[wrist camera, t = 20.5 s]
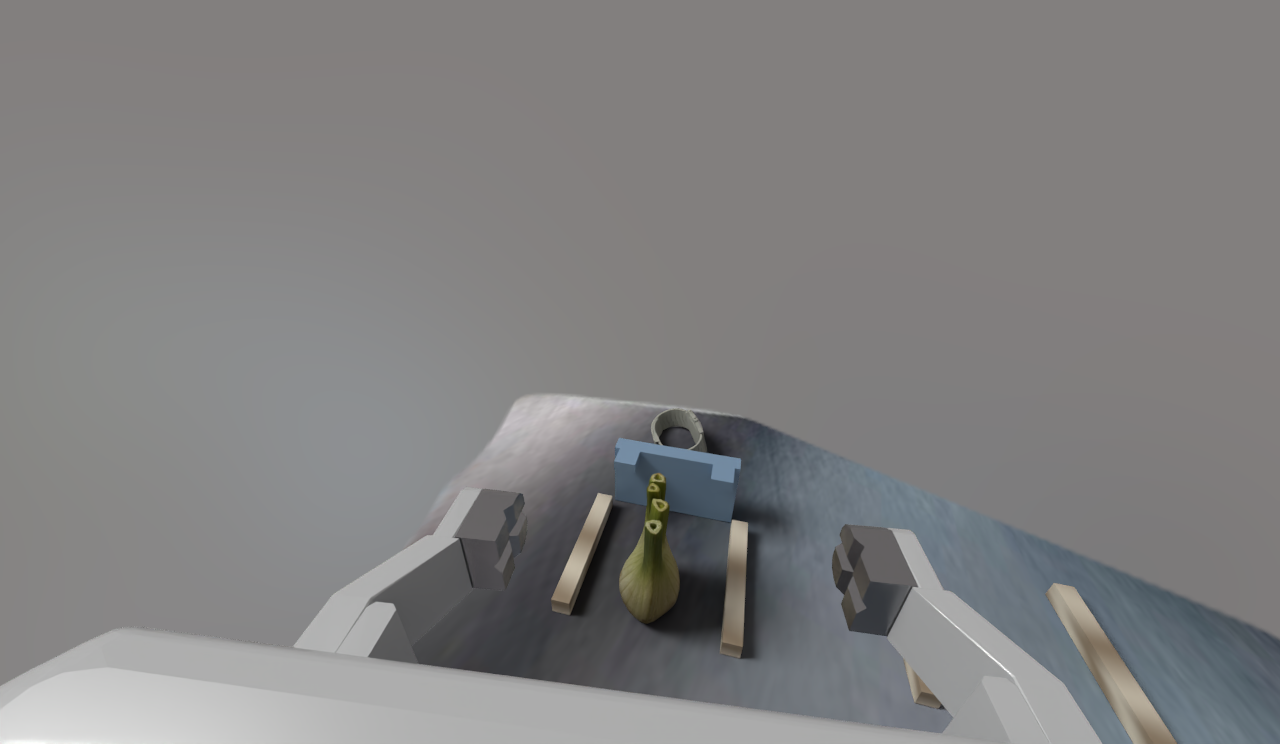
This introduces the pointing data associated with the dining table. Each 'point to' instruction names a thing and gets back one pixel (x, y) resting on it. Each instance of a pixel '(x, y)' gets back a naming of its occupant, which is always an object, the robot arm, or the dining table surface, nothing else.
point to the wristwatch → (679, 419)
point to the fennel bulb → (651, 562)
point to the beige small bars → (1076, 617)
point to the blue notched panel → (678, 478)
